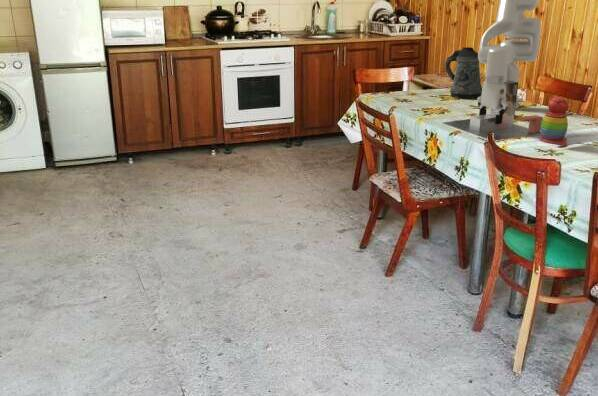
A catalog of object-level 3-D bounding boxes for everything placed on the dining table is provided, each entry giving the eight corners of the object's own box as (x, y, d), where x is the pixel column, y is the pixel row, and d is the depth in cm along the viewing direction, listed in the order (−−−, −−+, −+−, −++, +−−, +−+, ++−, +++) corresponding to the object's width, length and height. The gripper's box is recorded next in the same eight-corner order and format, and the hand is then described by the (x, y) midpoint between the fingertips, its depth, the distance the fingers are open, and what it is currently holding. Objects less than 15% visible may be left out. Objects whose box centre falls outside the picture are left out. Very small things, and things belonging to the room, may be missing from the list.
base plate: (489, 118, 260) (489, 116, 260) (543, 135, 233) (543, 132, 233) (441, 124, 250) (441, 122, 250) (492, 143, 223) (492, 140, 223)
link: (501, 123, 247) (503, 112, 246) (512, 126, 242) (514, 115, 240) (469, 128, 241) (470, 116, 239) (479, 131, 236) (480, 119, 234)
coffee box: (504, 115, 266) (508, 79, 261) (514, 117, 261) (519, 82, 255) (489, 117, 262) (493, 81, 257) (499, 120, 257) (504, 84, 251)
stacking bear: (566, 148, 216) (574, 100, 209) (537, 145, 220) (544, 98, 213) (567, 141, 225) (574, 95, 219) (539, 138, 229) (545, 93, 222)
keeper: (533, 130, 237) (535, 115, 235) (540, 132, 234) (542, 116, 232) (514, 132, 233) (516, 117, 231) (520, 134, 230) (522, 119, 228)
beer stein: (485, 99, 299) (491, 49, 290) (448, 99, 299) (452, 50, 290) (477, 93, 314) (481, 45, 305) (441, 93, 315) (444, 46, 305)
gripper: (517, 82, 228) (512, 124, 234) (487, 75, 243) (483, 116, 249) (502, 83, 225) (497, 126, 231) (473, 77, 240) (469, 117, 246)
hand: (490, 121), depth 240 cm, fingers open, 9 cm apart
